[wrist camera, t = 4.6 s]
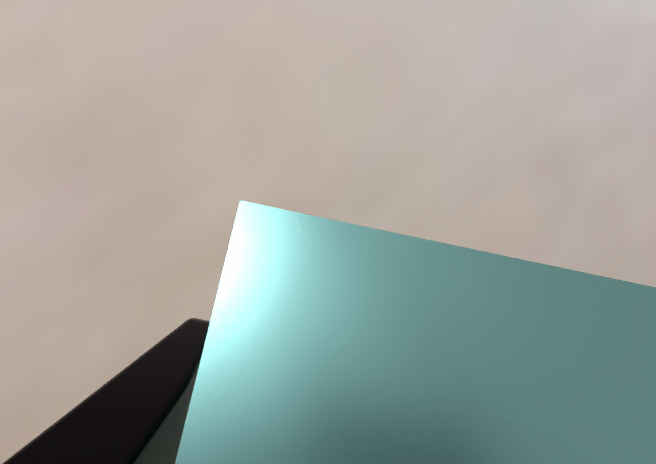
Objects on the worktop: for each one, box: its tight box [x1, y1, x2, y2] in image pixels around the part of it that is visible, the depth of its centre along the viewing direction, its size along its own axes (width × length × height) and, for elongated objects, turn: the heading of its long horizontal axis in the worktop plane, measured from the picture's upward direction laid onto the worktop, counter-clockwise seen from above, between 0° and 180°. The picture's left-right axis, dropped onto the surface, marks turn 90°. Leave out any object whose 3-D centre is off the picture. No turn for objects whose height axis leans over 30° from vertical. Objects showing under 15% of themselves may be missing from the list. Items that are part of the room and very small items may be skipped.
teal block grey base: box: [175, 201, 656, 464], centre depth 9 cm, size 5×5×11 cm
